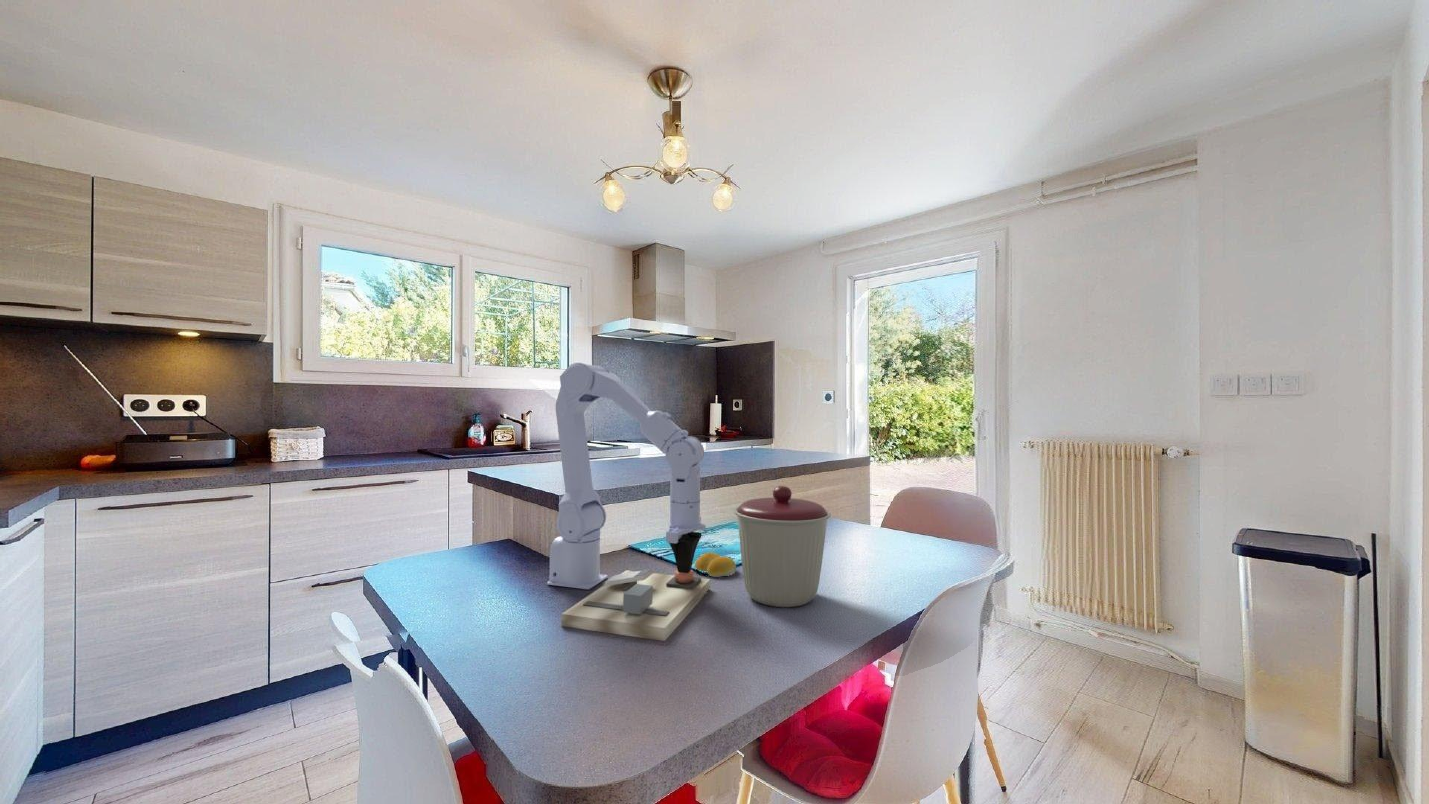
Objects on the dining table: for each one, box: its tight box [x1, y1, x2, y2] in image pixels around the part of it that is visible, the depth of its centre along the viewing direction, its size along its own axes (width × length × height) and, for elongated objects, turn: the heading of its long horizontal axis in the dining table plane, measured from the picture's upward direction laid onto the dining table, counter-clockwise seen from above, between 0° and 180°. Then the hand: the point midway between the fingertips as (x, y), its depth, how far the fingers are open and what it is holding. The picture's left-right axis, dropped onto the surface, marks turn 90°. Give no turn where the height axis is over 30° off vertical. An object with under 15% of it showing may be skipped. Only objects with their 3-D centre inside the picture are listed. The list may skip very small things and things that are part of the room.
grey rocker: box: [604, 568, 654, 586], centre depth 100 cm, size 8×4×1 cm, turn 74°
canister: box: [733, 485, 832, 608], centre depth 102 cm, size 18×18×21 cm
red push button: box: [674, 569, 694, 583], centre depth 103 cm, size 4×4×2 cm
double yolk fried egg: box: [694, 551, 737, 577], centre depth 117 cm, size 8×9×4 cm
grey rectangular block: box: [623, 584, 653, 614], centre depth 89 cm, size 3×5×3 cm, turn 164°
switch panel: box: [560, 569, 711, 642], centre depth 96 cm, size 18×24×3 cm
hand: (684, 571), depth 103 cm, fingers closed, pressing on red push button
